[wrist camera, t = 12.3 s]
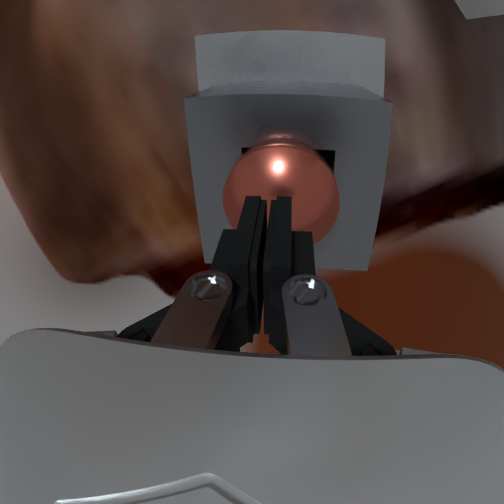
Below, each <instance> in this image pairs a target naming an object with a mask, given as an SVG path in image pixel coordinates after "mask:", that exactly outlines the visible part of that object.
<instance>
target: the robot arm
mask: <svg viewBox="0 0 504 504" xmlns="http://www.w3.org/2000/svg"><path fill="white" fill-rule="evenodd" d="M263 301H264V334H269V343H270V344H271V345H272V346H273V347H275V348H276V349H277V350H278V351H279V354H261V353H248V352H240V347H241V346H243V345H245V344H246V343H248V342H250V343H252V342H253V335H254V334H259V333H260V326H261V318H262V309H263ZM0 504H504V370H503V369H502V368H500V367H498V366H497V365H495V364H492V363H490V362H488V361H484V360H481V359H477V358H474V357H468V356H461V355H448V354H441V353H434V352H427V351H421V350H415V349H408V348H402V349H401V351H398V350H394V348H393V347H392V346H391V345H390V344H389V343H388V342H387V341H385V340H384V339H382V338H381V337H380V336H378V335H377V334H376V333H374V332H373V331H371V330H370V329H368V328H367V327H365V326H364V325H363V324H361V323H360V322H358V321H357V320H356V319H354V318H353V317H351V316H350V315H349V314H347V313H345V312H344V311H343V310H342V309H340V308H339V307H338V306H337V304H336V300H335V297H334V294H333V291H332V288H331V287H330V285H329V283H327V282H326V281H325V280H324V279H322V278H320V277H318V276H316V273H315V259H314V247H313V235H312V231H292V197H291V196H277V200H271V205H270V213H269V221H268V228H267V200H261V196H246V197H245V201H244V204H243V208H242V211H241V215H240V219H239V222H238V226H237V229H223V231H222V234H221V237H220V239H219V242H218V245H217V248H216V251H215V254H214V257H213V260H212V263H211V267H210V270H209V271H203V272H199V273H197V274H195V275H193V276H192V277H190V278H189V279H188V280H187V281H186V282H185V284H184V286H183V287H182V289H181V291H180V292H179V294H178V295H177V297H176V299H175V301H174V302H173V304H171V305H169V306H167V307H165V308H163V309H161V310H159V311H157V312H155V313H153V314H151V315H150V316H148V317H146V318H144V319H142V320H140V321H138V322H136V323H134V324H133V325H131V326H129V327H127V328H125V329H124V330H123V331H121V333H120V334H117V333H116V331H96V332H81V331H74V330H68V329H58V328H36V329H31V330H25V331H21V332H19V333H16V334H14V335H12V336H10V337H9V338H8V339H6V340H5V341H4V342H3V343H2V345H1V346H0Z"/></svg>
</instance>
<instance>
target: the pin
mask: <svg viewBox="0 0 504 504" xmlns="http://www.w3.org/2000/svg"><path fill="white" fill-rule="evenodd" d="M246 196H261V200H267V228H268V221H269V213H270V205H271V200H277V196H291V197H292V231H312V235H313V245H314V244H315V243H317V242H319V241H320V240H321V239H322V238H324V237H325V236H326V235H327V233H328V232H329V231H330V230H331V228H332V227H333V225H334V223H335V221H336V219H337V216H338V213H339V207H340V197H339V191H338V187H337V184H336V180H335V176H334V173H333V171H332V169H331V167H330V165H329V164H328V162H327V161H326V160H325V158H324V157H323V156H322V155H321V154H320V153H319V152H318V151H316V150H315V149H313V148H312V147H310V146H308V145H306V144H304V143H301V142H299V141H295V140H290V139H273V140H267V141H264V142H261V143H258V144H256V145H254V146H252V147H251V148H249V149H248V150H247V151H245V152H244V153H243V154H242V155H241V156H240V157H239V159H238V160H237V161H236V163H235V164H234V166H233V168H232V170H231V172H230V174H229V175H228V178H227V180H226V182H225V185H224V189H223V207H224V211H225V215H226V217H227V219H228V221H229V223H230V225H231V226H232V228H233V229H237V226H238V222H239V219H240V215H241V211H242V208H243V204H244V201H245V197H246Z"/></svg>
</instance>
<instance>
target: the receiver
mask: <svg viewBox="0 0 504 504" xmlns="http://www.w3.org/2000/svg"><path fill="white" fill-rule="evenodd" d="M195 47H196V62H197V75H198V88H199V92H197V93H195V94H192V95H190V96H188V97H185V98H184V107H185V117H186V126H187V135H188V144H189V153H190V161H191V169H192V177H193V185H194V192H195V200H196V207H197V214H198V221H199V228H200V235H201V241H202V248H203V254H204V260H205V263H212V260H213V257H214V254H215V251H216V248H217V245H218V242H219V239H220V237H221V234H222V231H223V229H233V228H232V226H231V225H230V223H229V221H228V219H227V217H226V215H225V211H224V207H223V189H224V185H225V182H226V180H227V178H228V175H229V174H230V172H231V170H232V168H233V166H234V164H235V163H236V161H237V160H238V159H239V157H240V156H241V155H242V154H243V153H244V152H245V151H247V150H248V149H249V148H251V147H252V146H254V145H256V144H258V143H261V142H264V141H267V140H273V139H290V140H295V141H299V142H301V143H304V144H306V145H308V146H310V147H312V148H313V149H315V150H316V151H318V152H319V153H320V154H321V155H322V156H323V157H324V158H325V160H326V161H327V162H328V164H329V165H330V167H331V169H332V171H333V173H334V176H335V180H336V184H337V187H338V191H339V197H340V207H339V213H338V216H337V219H336V221H335V223H334V225H333V227H332V228H331V230H330V231H329V232H328V233H327V235H326V236H325V237H324V238H322V239H321V240H320V241H319V242H317V243H315V244H314V245H313V247H314V259H315V269H335V270H358V271H367V269H368V265H369V260H370V256H371V251H372V247H373V242H374V237H375V232H376V227H377V222H378V216H379V211H380V205H381V199H382V193H383V187H384V180H385V174H386V166H387V159H388V151H389V143H390V133H391V123H392V112H393V102H391V101H389V100H387V99H385V98H383V96H384V77H385V39H382V38H375V37H369V36H361V35H353V34H343V33H332V32H318V31H290V30H271V31H244V32H229V33H218V34H208V35H200V36H195Z"/></svg>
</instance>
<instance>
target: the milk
mask: <svg viewBox="0 0 504 504" xmlns="http://www.w3.org/2000/svg"><path fill="white" fill-rule="evenodd" d="M454 1H455V2H456V4H457V5H458V7H459V9H460V10H461V12H462V13H463V15H464V17H465V18H466V20H468V19H474V18H481V17H489V16H497V15H504V0H454Z"/></svg>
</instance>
